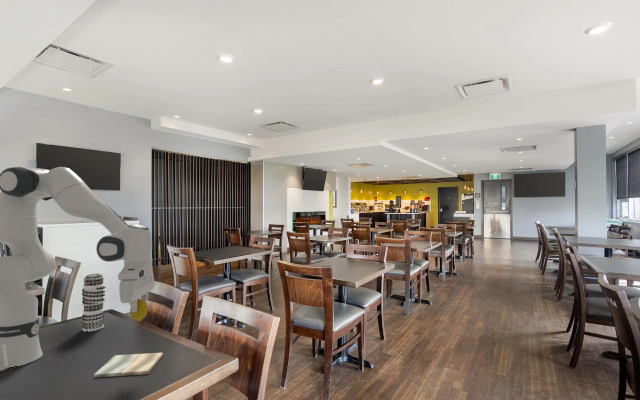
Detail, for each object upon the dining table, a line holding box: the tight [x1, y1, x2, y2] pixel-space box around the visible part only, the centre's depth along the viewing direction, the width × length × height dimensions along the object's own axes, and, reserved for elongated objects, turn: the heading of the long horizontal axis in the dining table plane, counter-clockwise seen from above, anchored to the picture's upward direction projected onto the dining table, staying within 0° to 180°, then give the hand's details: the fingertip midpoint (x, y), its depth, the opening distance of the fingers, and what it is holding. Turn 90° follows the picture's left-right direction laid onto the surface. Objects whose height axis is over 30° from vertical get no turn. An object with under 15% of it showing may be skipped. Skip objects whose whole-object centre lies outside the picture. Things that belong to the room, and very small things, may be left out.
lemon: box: [129, 298, 149, 322], centre depth 117 cm, size 6×6×8 cm
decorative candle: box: [81, 273, 107, 332], centre depth 153 cm, size 9×9×25 cm
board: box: [93, 352, 164, 378], centre depth 117 cm, size 17×14×1 cm
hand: (139, 308), depth 117 cm, fingers open, 5 cm apart
